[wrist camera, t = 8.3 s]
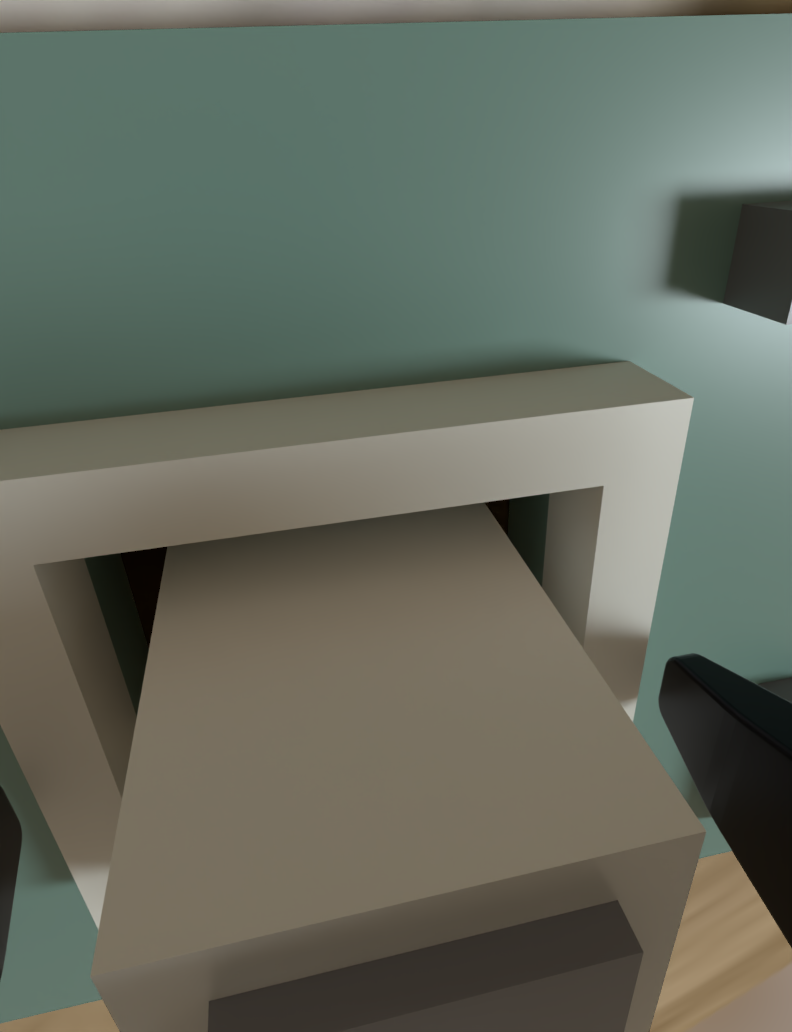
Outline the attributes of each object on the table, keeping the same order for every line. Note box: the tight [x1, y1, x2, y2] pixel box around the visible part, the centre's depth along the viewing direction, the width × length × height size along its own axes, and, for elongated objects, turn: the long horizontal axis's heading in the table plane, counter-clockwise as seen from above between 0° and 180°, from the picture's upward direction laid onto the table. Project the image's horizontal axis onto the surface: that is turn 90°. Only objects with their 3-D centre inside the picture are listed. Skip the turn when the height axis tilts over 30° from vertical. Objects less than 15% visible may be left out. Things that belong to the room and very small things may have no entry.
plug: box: [90, 502, 706, 1032], centre depth 9 cm, size 4×6×7 cm
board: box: [0, 13, 792, 1023], centre depth 10 cm, size 22×16×3 cm
